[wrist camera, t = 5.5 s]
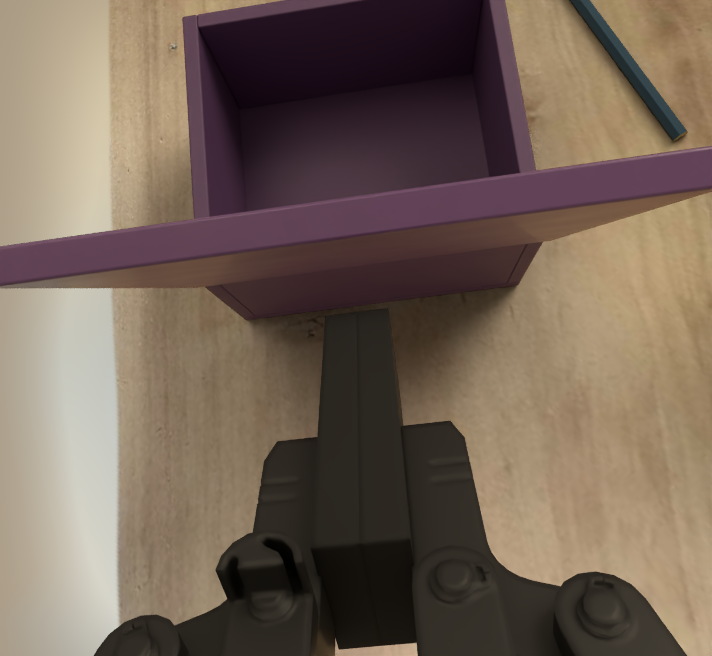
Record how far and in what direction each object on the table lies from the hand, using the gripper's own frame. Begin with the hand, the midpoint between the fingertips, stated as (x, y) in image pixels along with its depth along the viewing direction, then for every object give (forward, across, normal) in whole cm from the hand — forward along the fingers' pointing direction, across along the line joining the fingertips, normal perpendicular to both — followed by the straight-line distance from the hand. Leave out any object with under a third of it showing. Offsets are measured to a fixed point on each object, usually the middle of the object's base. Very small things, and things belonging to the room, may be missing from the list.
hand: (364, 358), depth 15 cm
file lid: (+7, 0, 0) cm, 7 cm away
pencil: (+31, +16, 0) cm, 35 cm away
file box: (+25, 0, -5) cm, 26 cm away
